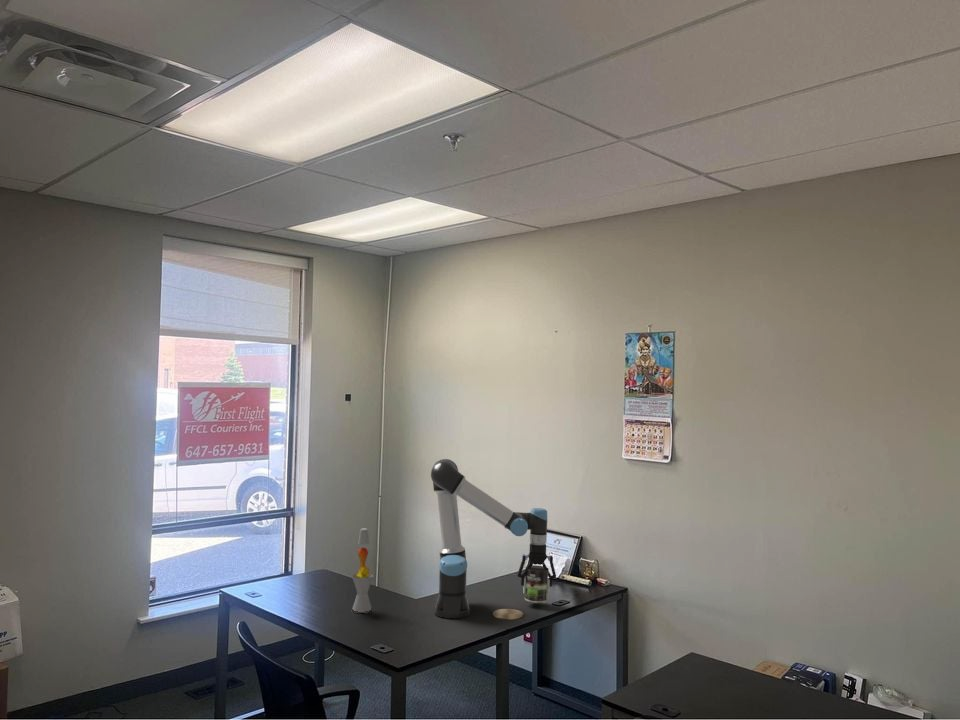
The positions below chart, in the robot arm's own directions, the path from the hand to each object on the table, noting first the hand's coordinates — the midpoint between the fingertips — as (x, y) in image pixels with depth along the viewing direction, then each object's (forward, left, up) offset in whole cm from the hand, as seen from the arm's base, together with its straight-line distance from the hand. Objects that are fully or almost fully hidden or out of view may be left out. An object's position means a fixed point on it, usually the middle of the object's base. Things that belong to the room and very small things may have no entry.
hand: (536, 593), depth 314 cm
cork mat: (-13, -14, -5) cm, 20 cm away
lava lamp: (-76, -11, -6) cm, 77 cm away
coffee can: (0, 0, -3) cm, 3 cm away
